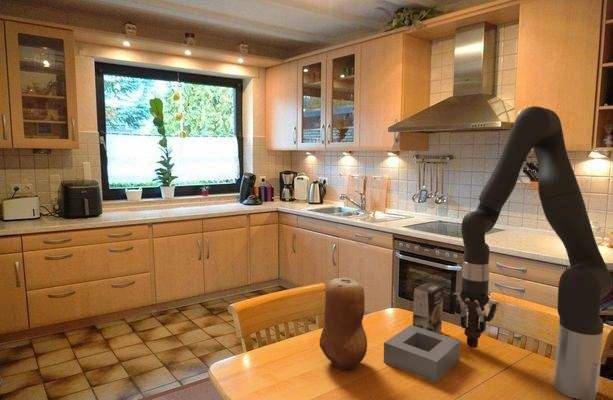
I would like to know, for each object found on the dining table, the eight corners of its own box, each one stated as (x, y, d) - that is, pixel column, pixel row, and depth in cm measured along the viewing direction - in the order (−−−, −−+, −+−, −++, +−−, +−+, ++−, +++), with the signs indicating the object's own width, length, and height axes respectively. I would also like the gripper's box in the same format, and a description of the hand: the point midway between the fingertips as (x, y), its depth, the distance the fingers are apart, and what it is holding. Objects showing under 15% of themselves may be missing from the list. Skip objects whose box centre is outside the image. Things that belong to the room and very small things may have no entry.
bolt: (479, 342, 130) (481, 297, 128) (484, 350, 125) (487, 303, 123) (460, 342, 130) (462, 296, 128) (464, 349, 125) (466, 302, 123)
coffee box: (429, 340, 133) (431, 292, 131) (411, 334, 138) (413, 288, 135) (442, 331, 140) (444, 285, 138) (424, 326, 144) (426, 281, 142)
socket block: (459, 360, 121) (460, 340, 121) (435, 383, 110) (436, 361, 109) (409, 342, 132) (410, 324, 131) (383, 361, 120) (384, 342, 119)
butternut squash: (375, 363, 119) (378, 279, 116) (350, 383, 109) (352, 292, 106) (336, 347, 128) (337, 270, 125) (309, 365, 118) (310, 281, 115)
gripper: (504, 278, 123) (501, 332, 125) (456, 269, 132) (454, 319, 134) (496, 284, 117) (492, 341, 119) (447, 274, 127) (445, 327, 129)
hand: (472, 329), depth 127 cm, fingers closed on bolt, 4 cm apart
